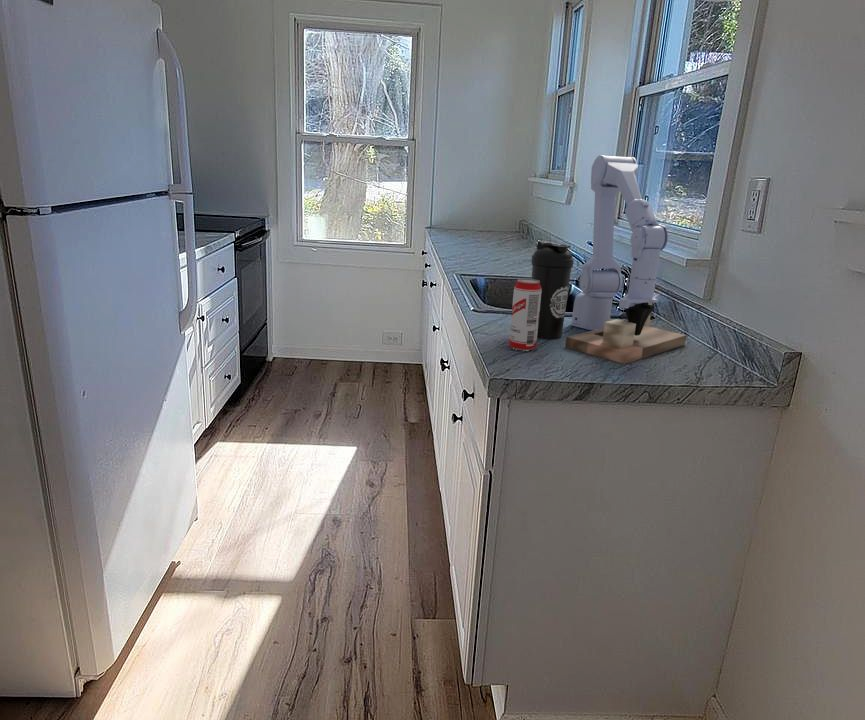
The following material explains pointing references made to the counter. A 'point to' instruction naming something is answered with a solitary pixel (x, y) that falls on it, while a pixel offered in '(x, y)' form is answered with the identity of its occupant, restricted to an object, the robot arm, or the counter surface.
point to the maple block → (619, 333)
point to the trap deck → (642, 347)
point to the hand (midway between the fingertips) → (634, 334)
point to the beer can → (525, 314)
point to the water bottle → (552, 286)
